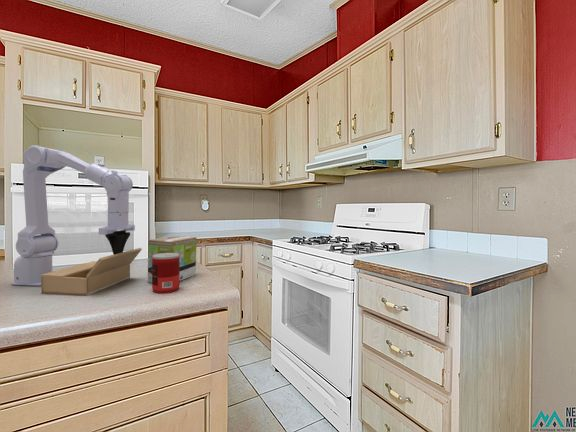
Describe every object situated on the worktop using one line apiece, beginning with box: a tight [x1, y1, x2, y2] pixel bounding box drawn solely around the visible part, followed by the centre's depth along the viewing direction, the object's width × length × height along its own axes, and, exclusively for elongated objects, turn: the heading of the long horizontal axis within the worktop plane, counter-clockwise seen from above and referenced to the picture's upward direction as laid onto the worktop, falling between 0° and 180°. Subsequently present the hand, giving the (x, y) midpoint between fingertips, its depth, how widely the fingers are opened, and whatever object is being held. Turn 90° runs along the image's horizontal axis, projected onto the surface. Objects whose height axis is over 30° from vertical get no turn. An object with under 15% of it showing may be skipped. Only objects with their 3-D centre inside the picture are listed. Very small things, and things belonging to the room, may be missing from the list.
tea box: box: [147, 235, 198, 284], centre depth 104 cm, size 15×10×15 cm, turn 168°
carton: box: [40, 260, 131, 297], centre depth 94 cm, size 14×20×6 cm
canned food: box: [151, 253, 180, 294], centre depth 91 cm, size 8×8×11 cm
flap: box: [86, 247, 143, 278], centre depth 93 cm, size 7×20×1 cm
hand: (117, 255), depth 93 cm, fingers closed, pressing on flap
